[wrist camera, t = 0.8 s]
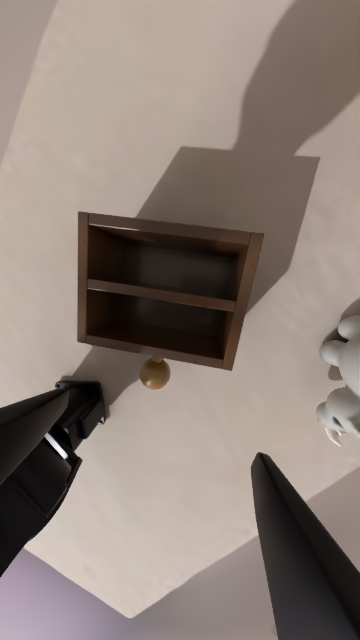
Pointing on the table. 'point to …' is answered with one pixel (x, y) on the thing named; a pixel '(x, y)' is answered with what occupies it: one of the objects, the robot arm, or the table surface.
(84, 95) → the table surface
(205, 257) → the shelf
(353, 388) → the toy rhinoceros
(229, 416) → the table surface
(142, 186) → the table surface
